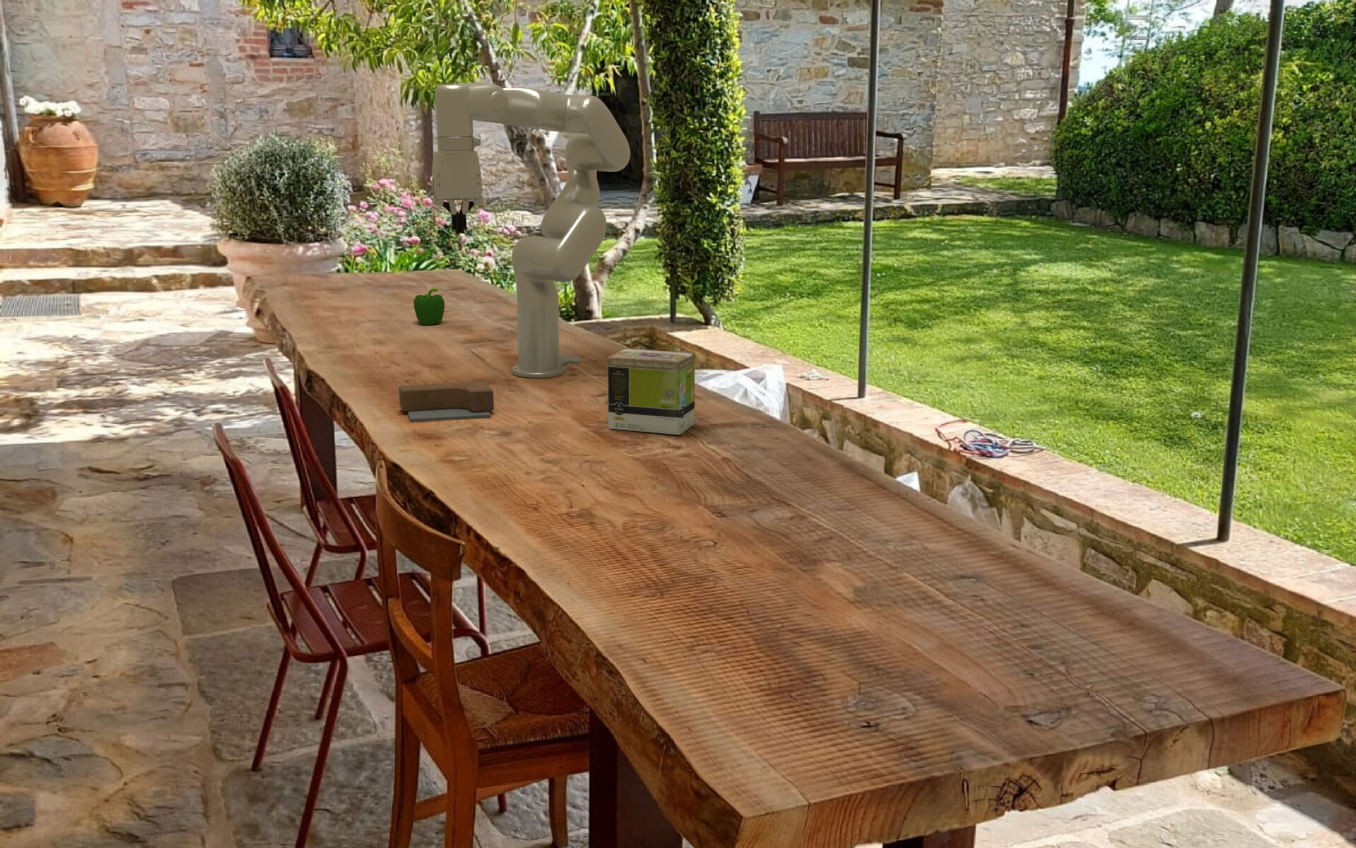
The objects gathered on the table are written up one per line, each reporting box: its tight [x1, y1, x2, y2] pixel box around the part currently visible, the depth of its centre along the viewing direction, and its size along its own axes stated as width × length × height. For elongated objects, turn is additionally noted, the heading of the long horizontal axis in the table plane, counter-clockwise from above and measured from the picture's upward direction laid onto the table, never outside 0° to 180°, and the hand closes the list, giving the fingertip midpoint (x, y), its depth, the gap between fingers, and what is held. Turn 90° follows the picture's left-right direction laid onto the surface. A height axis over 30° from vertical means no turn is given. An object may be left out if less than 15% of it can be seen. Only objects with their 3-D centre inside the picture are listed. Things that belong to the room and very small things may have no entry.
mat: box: [407, 408, 492, 423], centre depth 265 cm, size 16×14×1 cm
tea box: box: [607, 348, 696, 436], centre depth 253 cm, size 15×10×15 cm
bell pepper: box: [413, 287, 446, 326], centre depth 358 cm, size 8×8×10 cm
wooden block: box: [398, 380, 495, 412], centre depth 264 cm, size 9×4×18 cm
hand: (459, 232), depth 275 cm, fingers closed
